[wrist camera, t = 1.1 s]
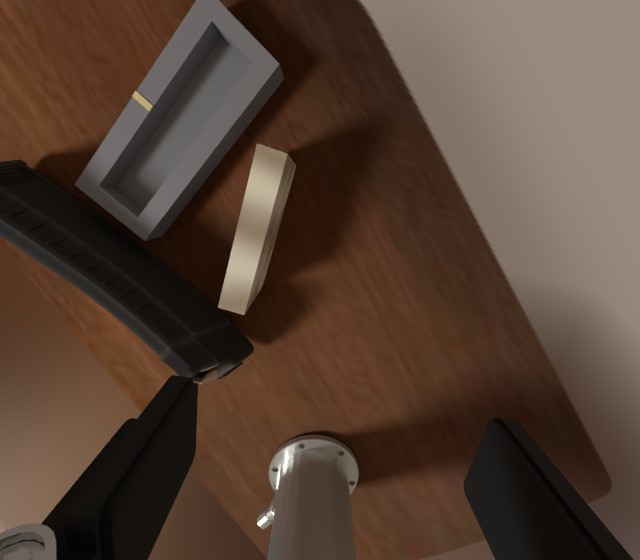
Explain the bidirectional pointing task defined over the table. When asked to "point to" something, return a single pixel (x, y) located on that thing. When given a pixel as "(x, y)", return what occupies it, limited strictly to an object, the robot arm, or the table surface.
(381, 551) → the table surface
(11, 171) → the magazine
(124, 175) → the gray rectangular tray
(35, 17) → the table surface
